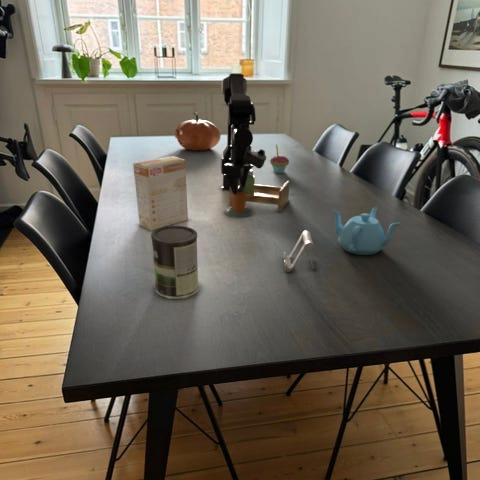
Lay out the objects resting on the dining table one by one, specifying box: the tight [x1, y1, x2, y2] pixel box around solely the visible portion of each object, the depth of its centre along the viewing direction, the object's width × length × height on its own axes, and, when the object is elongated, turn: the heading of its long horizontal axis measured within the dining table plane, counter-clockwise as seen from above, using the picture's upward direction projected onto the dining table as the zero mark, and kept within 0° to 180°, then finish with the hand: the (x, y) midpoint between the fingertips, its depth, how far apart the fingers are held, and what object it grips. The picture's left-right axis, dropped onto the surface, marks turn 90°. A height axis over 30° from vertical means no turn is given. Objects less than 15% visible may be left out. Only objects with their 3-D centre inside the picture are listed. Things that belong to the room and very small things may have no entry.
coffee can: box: [150, 225, 199, 300], centre depth 106 cm, size 10×10×14 cm
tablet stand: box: [282, 230, 315, 273], centre depth 121 cm, size 9×8×8 cm
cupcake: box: [269, 143, 290, 174], centre depth 206 cm, size 9×8×12 cm
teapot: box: [331, 206, 402, 256], centre depth 132 cm, size 15×15×10 cm
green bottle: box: [244, 168, 256, 194], centre depth 166 cm, size 4×4×8 cm
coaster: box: [225, 206, 253, 218], centre depth 159 cm, size 9×9×1 cm
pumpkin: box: [174, 111, 222, 152], centre depth 245 cm, size 25×25×19 cm
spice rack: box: [229, 180, 291, 213], centre depth 167 cm, size 19×14×8 cm
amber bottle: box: [232, 186, 247, 213], centre depth 156 cm, size 4×4×8 cm
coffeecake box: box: [132, 155, 189, 231], centre depth 144 cm, size 15×7×20 cm, turn 134°
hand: (239, 190), depth 155 cm, fingers open, 9 cm apart
